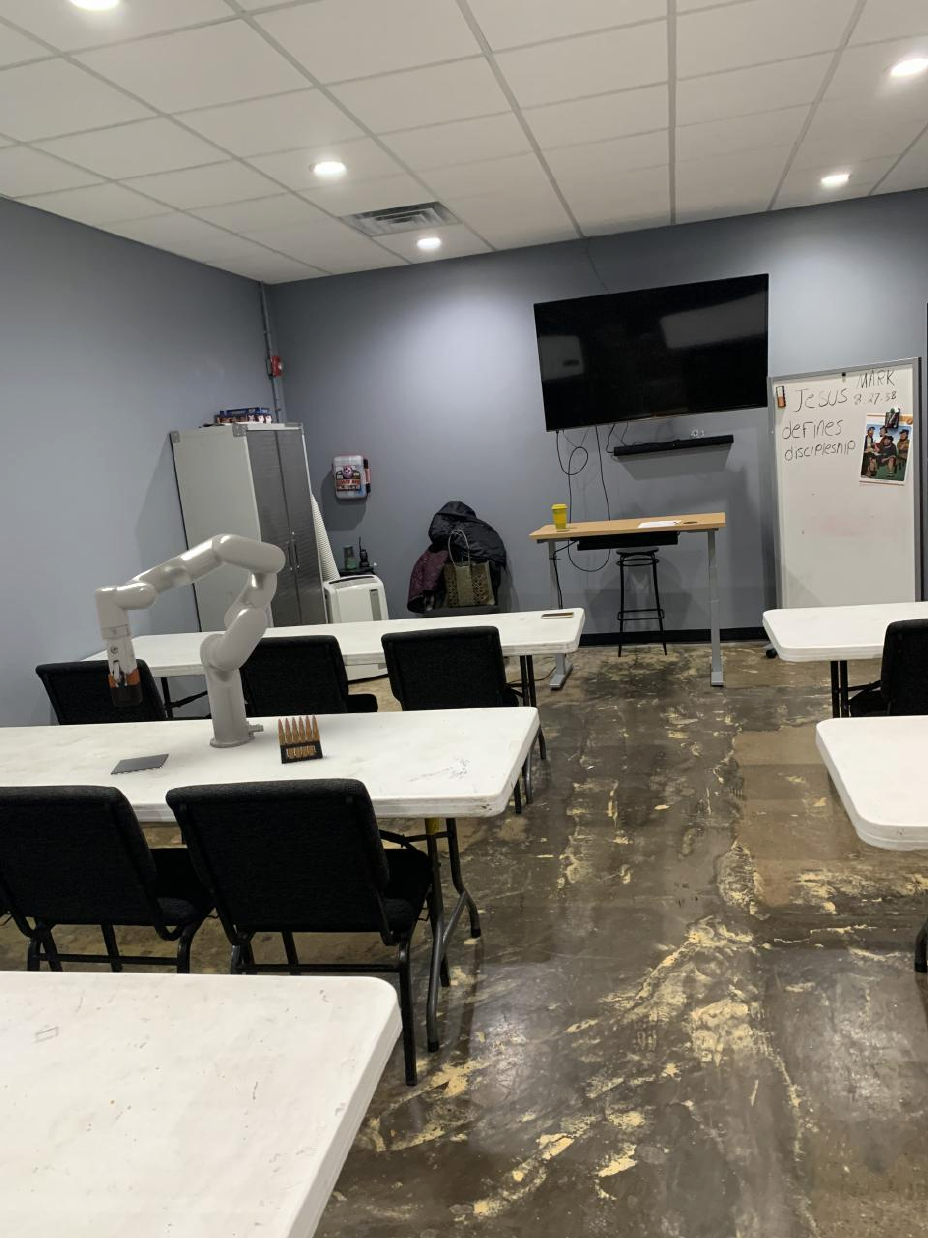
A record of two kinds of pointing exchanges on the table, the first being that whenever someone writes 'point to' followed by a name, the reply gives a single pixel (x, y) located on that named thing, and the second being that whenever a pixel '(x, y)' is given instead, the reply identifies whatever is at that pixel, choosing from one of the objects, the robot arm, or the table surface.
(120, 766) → the mat
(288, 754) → the ammunition clip
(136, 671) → the battery
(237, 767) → the table surface
